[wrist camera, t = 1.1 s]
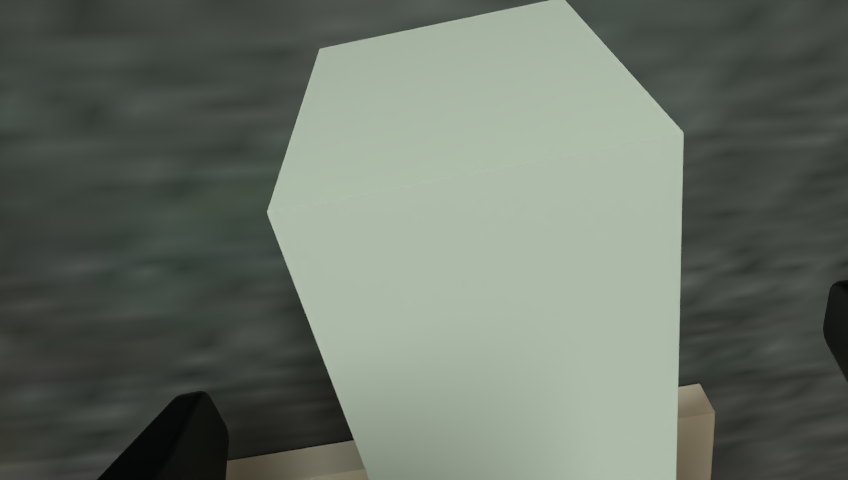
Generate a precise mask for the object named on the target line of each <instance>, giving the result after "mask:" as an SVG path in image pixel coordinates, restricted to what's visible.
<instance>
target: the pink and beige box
mask: <svg viewBox="0 0 848 480" xmlns="http://www.w3.org/2000/svg"><path fill="white" fill-rule="evenodd" d="M714 422H715V412H714V410H713V408H712V406H711V404H710V402H709V400H708V399H707V397H706V395H705V393H704V391H703V389H702V387H701V385H700V384H694V385H688V386H682V387H678V413H677V460H676V480H711V465H712V451H713V436H714ZM226 480H369V477H368V475H367V472H366V469H365V467H364V464H363V462H362V459H361V456H360V454H359V451H358V449H357V446H356V443H355V441H354V440H353V441H346V442H340V443H334V444H328V445H322V446H316V447H310V448H304V449H298V450H292V451H285V452H279V453H273V454H267V455H261V456H255V457H249V458H243V459H237V460H231V461H227V472H226Z"/></svg>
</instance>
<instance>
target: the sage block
mask: <svg viewBox="0 0 848 480" xmlns="http://www.w3.org/2000/svg"><path fill="white" fill-rule="evenodd" d="M682 180H683V132H682V131H681V129H680V128H679V127H678V126H677V125H676V124H675V123H674V122H673V120H672V119H671V118H670V117H669V116H668V115H667V114H666V113H665V112H664V110H663V109H662V108H661V107H660V106H659V105H658V104H657V103H656V101H655V100H654V99H653V98H652V97H651V96H650V95H649V94H648V92H647V91H646V90H645V89H644V88H643V87H642V86H641V85H640V84H639V82H638V81H637V80H636V79H635V78H634V77H633V76H632V75H631V73H630V72H629V71H628V70H627V69H626V68H625V67H624V66H623V65H622V63H621V62H620V61H619V60H618V59H617V58H616V57H615V56H614V54H613V53H612V52H611V51H610V50H609V49H608V48H607V47H606V45H605V44H604V43H603V42H602V41H601V40H600V39H599V38H598V37H597V35H596V34H595V33H594V32H593V31H592V30H591V29H590V28H589V26H588V25H587V24H586V23H585V22H584V21H583V20H582V19H581V18H580V16H579V15H578V14H577V13H576V12H575V11H574V10H573V9H572V7H571V6H570V5H569V4H568V3H567V2H566V1H565V0H549V1H545V2H540V3H535V4H530V5H526V6H521V7H516V8H511V9H507V10H502V11H497V12H492V13H488V14H483V15H478V16H473V17H469V18H464V19H459V20H454V21H450V22H445V23H440V24H435V25H431V26H426V27H421V28H417V29H412V30H407V31H402V32H398V33H393V34H388V35H383V36H379V37H374V38H369V39H364V40H360V41H355V42H350V43H345V44H341V45H336V46H331V47H326V48H322V49H319V52H318V56H317V59H316V62H315V65H314V68H313V71H312V74H311V77H310V80H309V84H308V87H307V90H306V93H305V96H304V99H303V102H302V105H301V108H300V111H299V115H298V118H297V121H296V124H295V127H294V130H293V133H292V136H291V139H290V143H289V146H288V149H287V152H286V155H285V158H284V161H283V164H282V167H281V171H280V174H279V177H278V180H277V183H276V186H275V189H274V192H273V195H272V199H271V202H270V205H269V208H268V211H267V214H268V217H269V219H270V222H271V225H272V227H273V230H274V232H275V235H276V238H277V240H278V243H279V246H280V248H281V251H282V253H283V256H284V259H285V261H286V264H287V266H288V269H289V272H290V274H291V277H292V279H293V282H294V285H295V287H296V290H297V292H298V295H299V298H300V300H301V303H302V305H303V308H304V311H305V313H306V316H307V318H308V321H309V324H310V326H311V329H312V331H313V334H314V337H315V339H316V342H317V344H318V347H319V350H320V352H321V355H322V357H323V360H324V363H325V365H326V368H327V371H328V373H329V376H330V378H331V381H332V384H333V386H334V389H335V391H336V394H337V397H338V399H339V402H340V404H341V407H342V410H343V412H344V415H345V417H346V420H347V423H348V425H349V428H350V430H351V433H352V436H353V438H354V441H355V443H356V446H357V449H358V451H359V454H360V456H361V459H362V462H363V464H364V467H365V469H366V472H367V475H368V477H369V480H676V460H677V413H678V367H679V320H680V273H681V227H682Z"/></svg>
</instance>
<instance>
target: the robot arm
mask: <svg viewBox="0 0 848 480" xmlns="http://www.w3.org/2000/svg"><path fill="white" fill-rule="evenodd" d="M823 332H824V337H825V340H826V343H827V345H828V347H829V349H830V351H831V353H832V354H833V356H834V358H835V360H836V362H837V364H838V366H839V368H840V370H841V372H842V373H843V375H844V377H845V379H846V381H847V383H848V280H843V281H838V282H836V283H834V284H833V285H832V287H831V288H830V292H829V297H828V302H827V308H826V313H825V319H824V325H823ZM228 447H229V436H228V431H227V427H226V425H225V423H224V421H223V419H222V418H221V416H220V414H219V412H218V410H217V408H216V406H215V405H214V403H213V401H212V399H211V397H210V396H209V394H207V393H206V392H204V391H198V392H192V393H187V394H181V395H179V396H177V397H176V398H174V399H173V400H172V401H171V402H170V403H169V404H168V406H167V407H166V408H165V409H164V410H163V411H162V412H161V413H160V414H159V415H158V416H157V417H156V418H155V419H154V420H153V421H152V422H151V423H150V424H149V425H148V427H147V428H146V429H145V430H144V431H143V432H142V433H141V434H140V435H139V436H138V437H137V438H136V439H135V440H134V441H133V442H132V443H131V444H130V445H129V446H128V448H127V449H126V450H125V451H124V452H123V453H122V454H121V455H120V456H119V457H118V458H117V459H116V460H115V461H114V462H113V463H112V464H111V465H110V466H109V468H108V469H107V470H106V471H105V472H104V473H103V474H102V475H101V476H100V477H99V478H98V479H97V480H226V472H227V459H228Z"/></svg>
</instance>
